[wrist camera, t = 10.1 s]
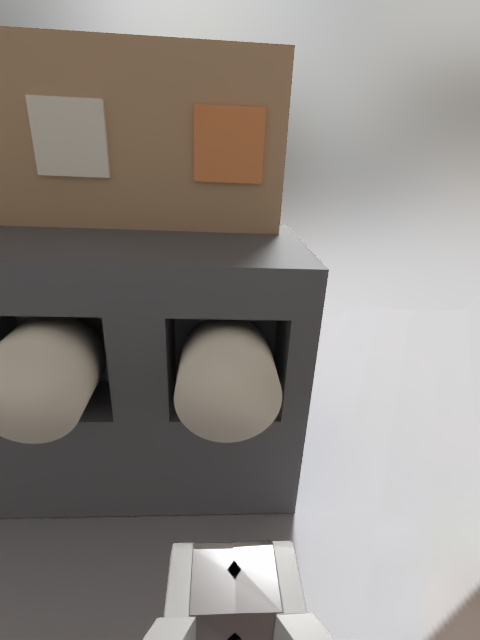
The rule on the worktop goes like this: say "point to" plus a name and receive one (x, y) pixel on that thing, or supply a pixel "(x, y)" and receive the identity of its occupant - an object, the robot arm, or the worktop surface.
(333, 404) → the worktop surface
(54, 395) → the middle button
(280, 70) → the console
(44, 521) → the worktop surface
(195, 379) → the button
